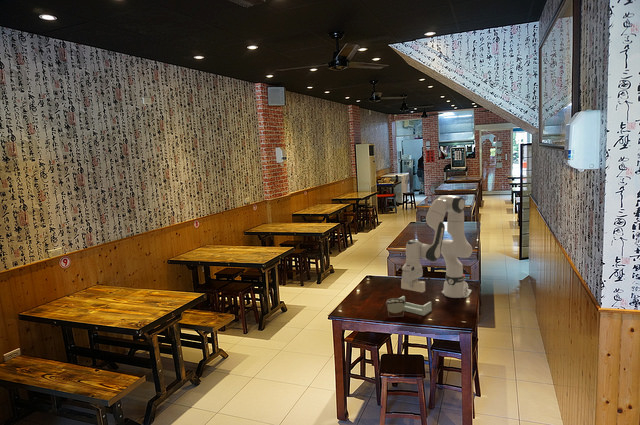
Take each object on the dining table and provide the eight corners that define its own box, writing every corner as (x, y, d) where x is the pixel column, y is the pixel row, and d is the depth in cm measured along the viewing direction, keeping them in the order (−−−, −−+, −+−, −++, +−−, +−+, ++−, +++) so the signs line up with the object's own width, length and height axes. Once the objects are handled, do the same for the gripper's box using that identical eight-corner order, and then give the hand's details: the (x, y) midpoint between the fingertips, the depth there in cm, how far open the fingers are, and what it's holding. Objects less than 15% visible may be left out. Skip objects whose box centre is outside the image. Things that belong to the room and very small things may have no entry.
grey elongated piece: (403, 304, 287) (403, 295, 286) (431, 310, 273) (431, 301, 272) (395, 308, 279) (395, 299, 279) (423, 315, 266) (423, 306, 265)
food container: (403, 312, 272) (403, 297, 271) (406, 316, 266) (405, 300, 265) (384, 313, 272) (384, 298, 271) (386, 317, 266) (386, 301, 265)
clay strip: (404, 286, 281) (404, 277, 280) (425, 290, 271) (425, 281, 270) (401, 288, 278) (401, 279, 277) (422, 292, 268) (422, 283, 267)
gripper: (416, 261, 282) (416, 281, 284) (400, 268, 267) (400, 289, 269) (425, 262, 278) (425, 283, 280) (409, 269, 263) (409, 291, 265)
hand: (412, 286), depth 274 cm, fingers closed on clay strip, 4 cm apart
